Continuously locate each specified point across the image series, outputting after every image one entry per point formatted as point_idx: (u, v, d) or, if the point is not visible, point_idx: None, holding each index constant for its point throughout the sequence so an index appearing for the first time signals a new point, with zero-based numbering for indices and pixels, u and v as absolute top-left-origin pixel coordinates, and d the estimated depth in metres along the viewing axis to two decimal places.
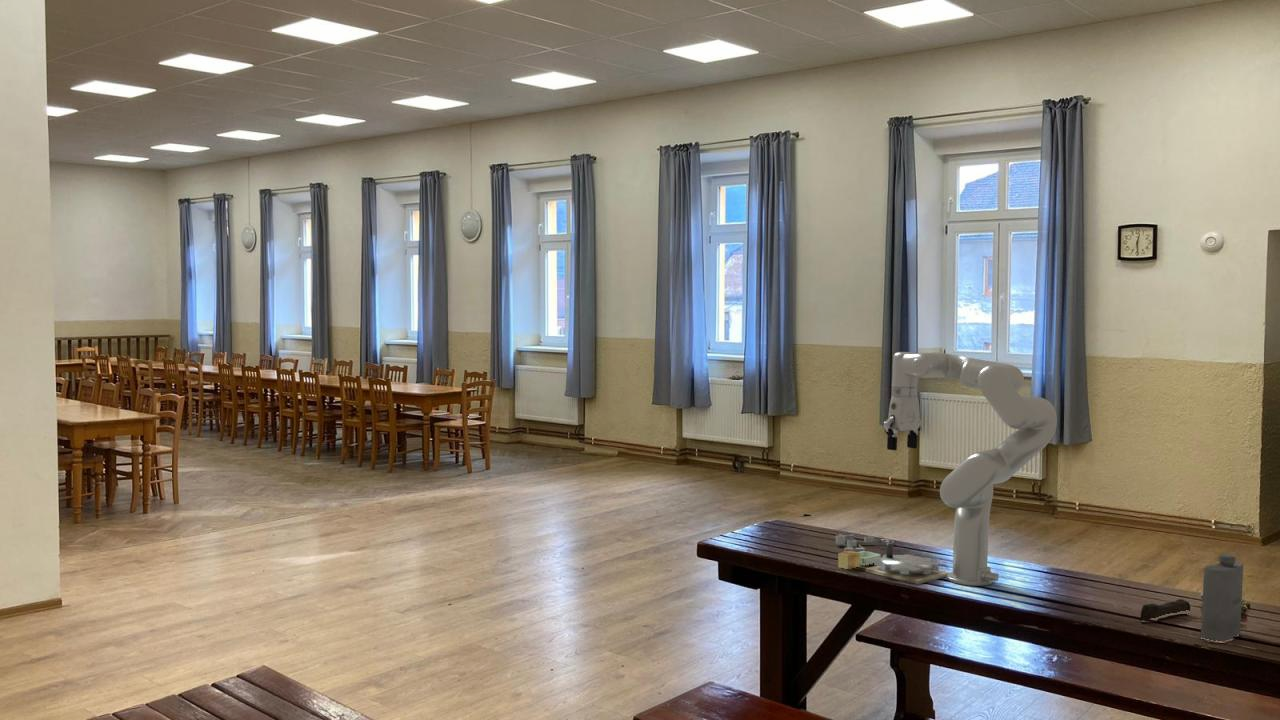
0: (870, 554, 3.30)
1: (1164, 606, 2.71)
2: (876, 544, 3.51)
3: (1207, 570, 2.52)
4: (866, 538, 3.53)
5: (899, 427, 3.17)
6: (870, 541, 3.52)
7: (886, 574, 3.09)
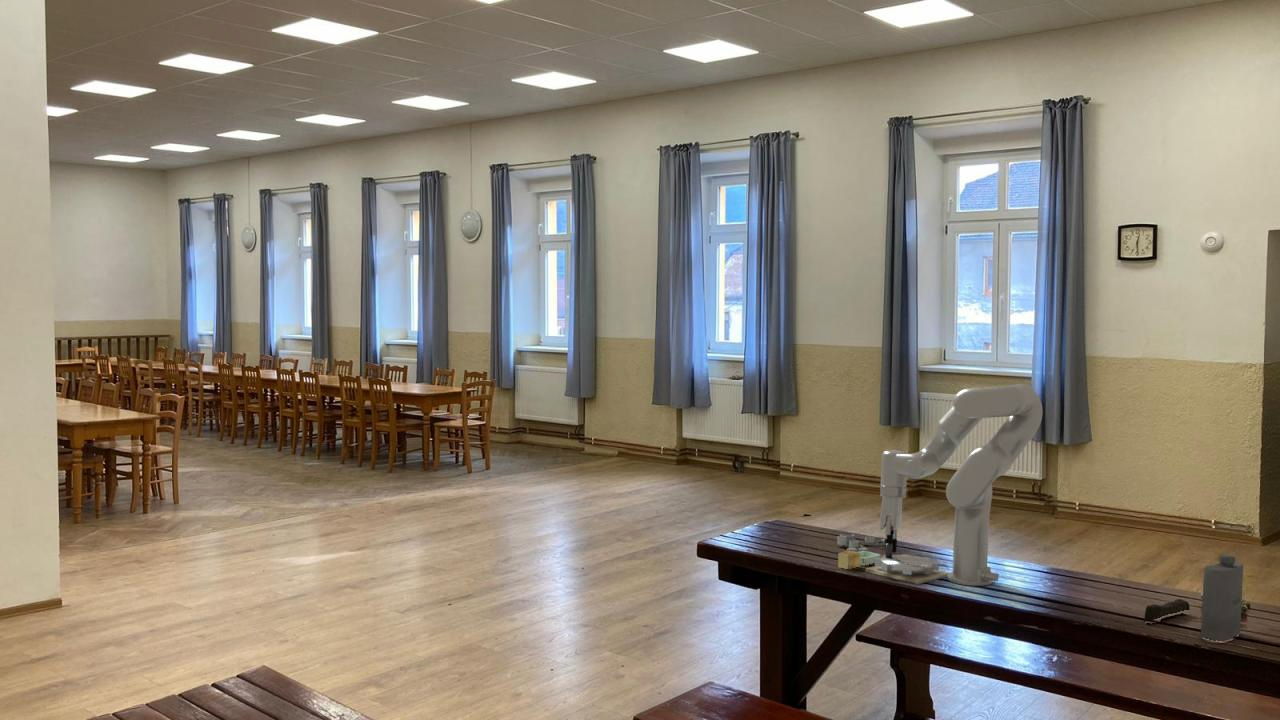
0: (870, 554, 3.30)
1: (1166, 606, 2.71)
2: (877, 544, 3.51)
3: (1207, 570, 2.52)
4: (867, 538, 3.53)
5: None
6: (871, 541, 3.52)
7: (886, 574, 3.09)
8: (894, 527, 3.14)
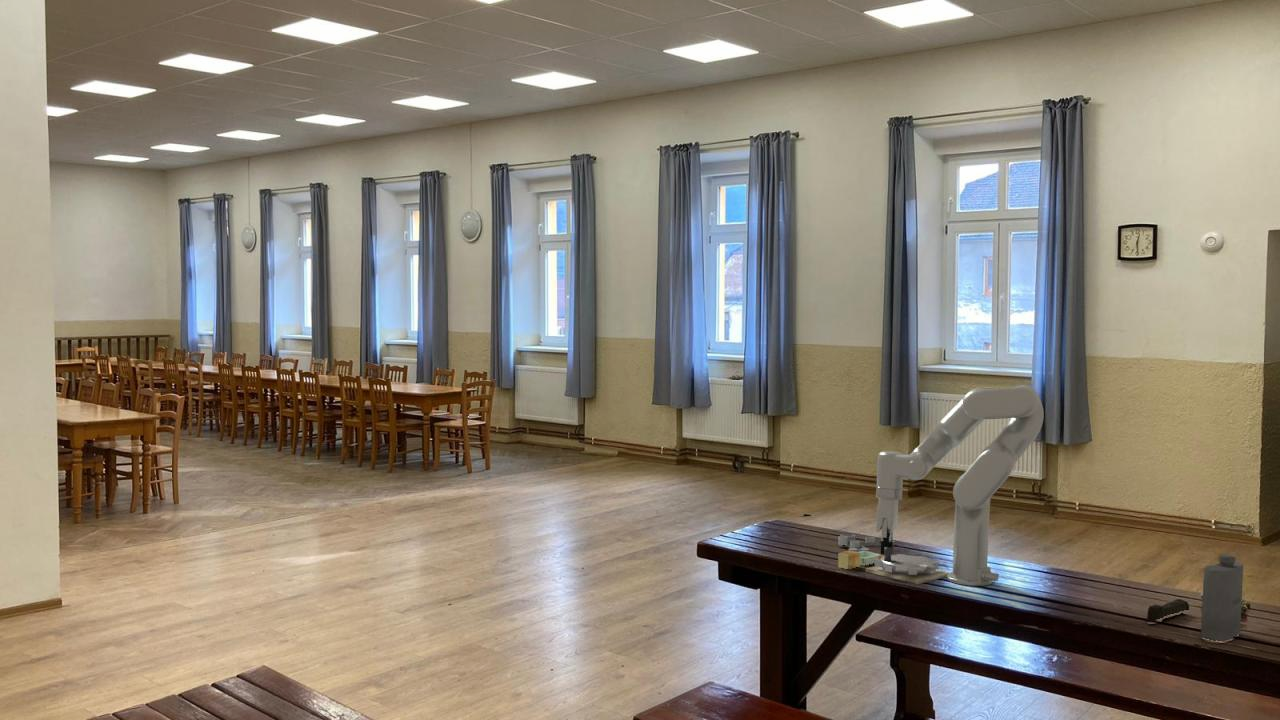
0: (870, 554, 3.30)
1: (1167, 607, 2.71)
2: (878, 544, 3.51)
3: (1207, 570, 2.52)
4: (867, 538, 3.52)
5: None
6: (871, 541, 3.52)
7: (886, 574, 3.09)
8: (890, 529, 3.09)
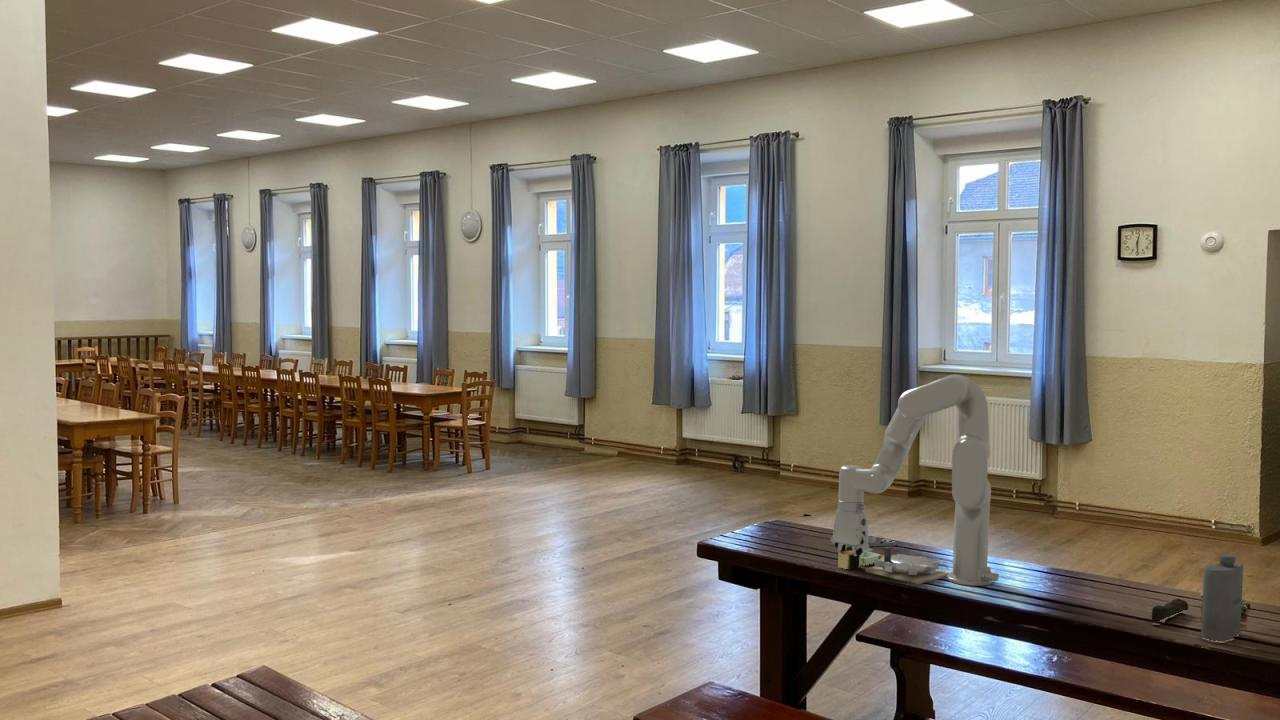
0: (870, 554, 3.30)
1: (1169, 607, 2.70)
2: (879, 545, 3.50)
3: (1207, 570, 2.52)
4: (868, 539, 3.52)
5: (867, 541, 3.18)
6: (873, 542, 3.51)
7: (886, 574, 3.09)
8: (833, 537, 3.22)
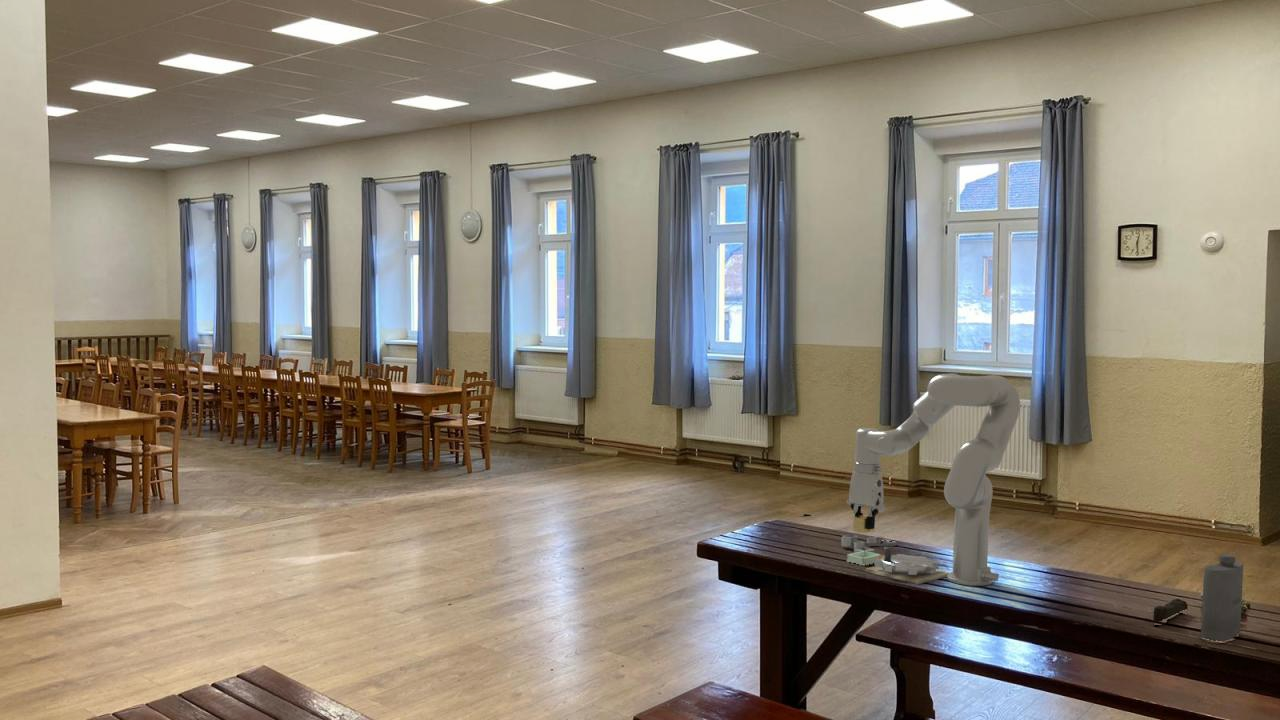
0: (870, 554, 3.30)
1: (1169, 607, 2.70)
2: (880, 545, 3.50)
3: (1207, 570, 2.52)
4: (869, 539, 3.52)
5: None
6: (873, 542, 3.51)
7: (886, 574, 3.09)
8: (849, 498, 3.29)
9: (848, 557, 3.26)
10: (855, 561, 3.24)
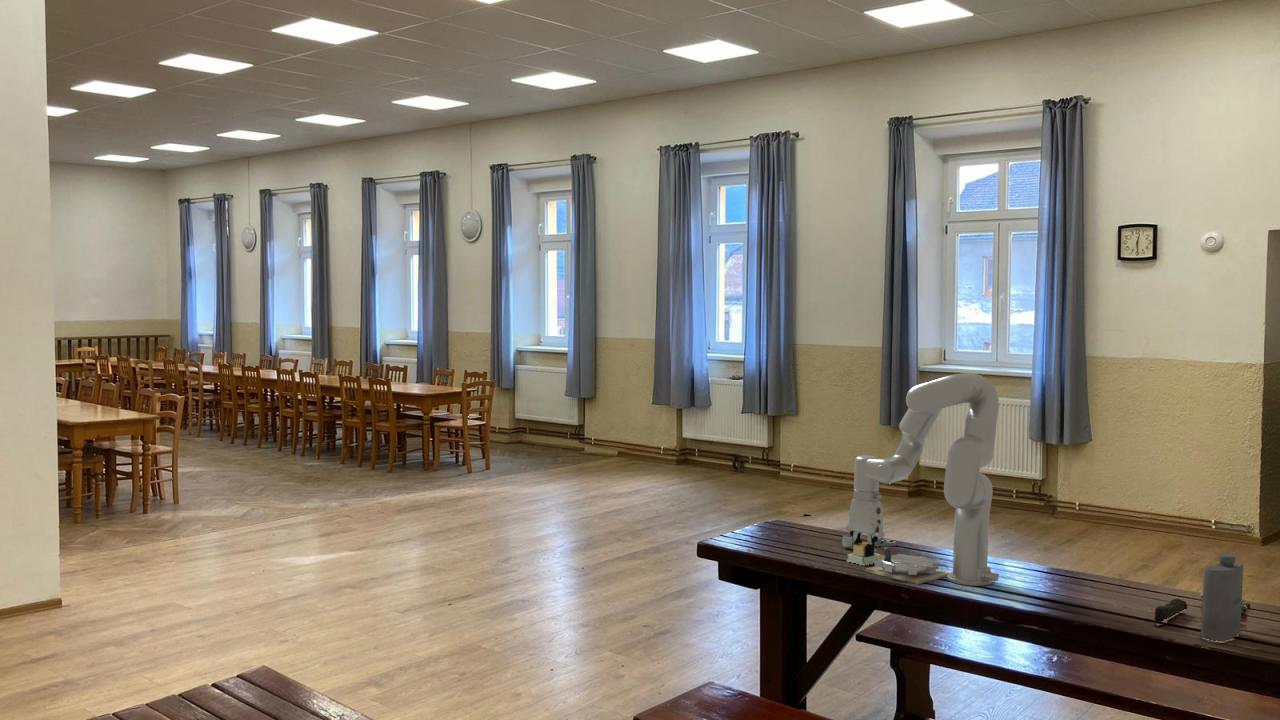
0: None
1: (1170, 607, 2.70)
2: (880, 545, 3.50)
3: (1207, 570, 2.52)
4: None
5: (882, 530, 3.25)
6: None
7: (886, 574, 3.09)
8: (849, 525, 3.29)
9: (848, 557, 3.26)
10: (855, 561, 3.24)
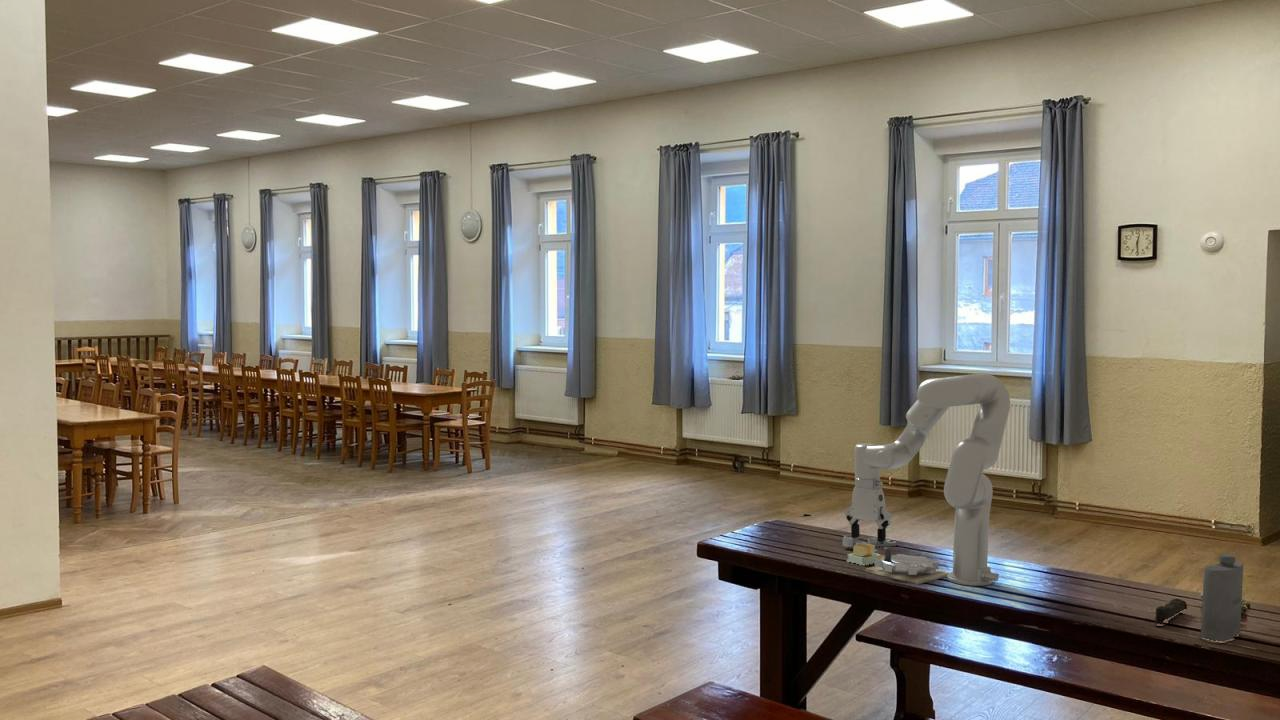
0: None
1: (1170, 607, 2.70)
2: (881, 545, 3.50)
3: (1207, 570, 2.52)
4: (870, 539, 3.51)
5: (885, 517, 3.24)
6: (874, 542, 3.51)
7: (886, 574, 3.09)
8: None
9: (848, 557, 3.26)
10: (855, 561, 3.24)
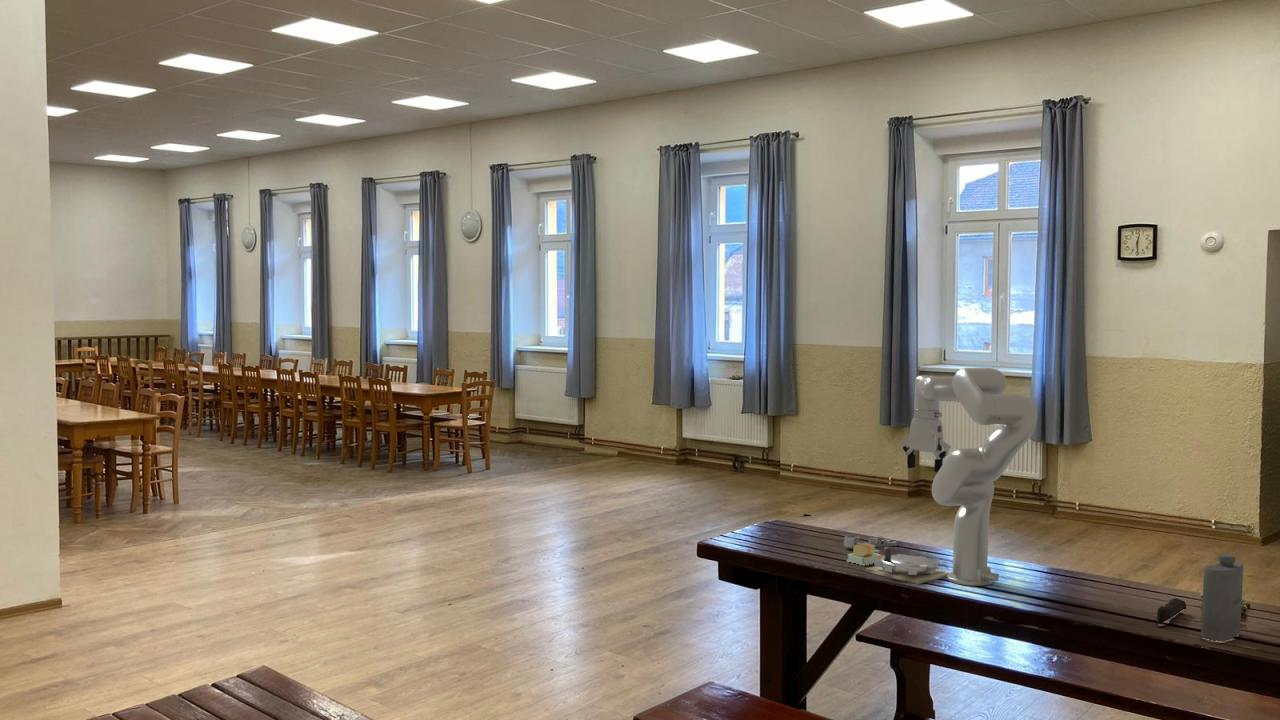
0: None
1: (1171, 607, 2.70)
2: (881, 545, 3.50)
3: (1207, 570, 2.52)
4: (871, 540, 3.51)
5: (942, 448, 3.29)
6: (875, 542, 3.50)
7: (886, 574, 3.09)
8: (909, 445, 3.33)
9: (848, 557, 3.26)
10: (855, 561, 3.24)
